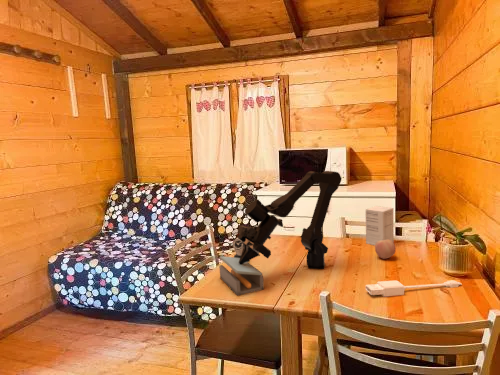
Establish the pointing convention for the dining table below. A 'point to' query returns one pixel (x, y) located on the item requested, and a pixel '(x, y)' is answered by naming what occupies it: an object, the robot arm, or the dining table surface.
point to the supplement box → (379, 224)
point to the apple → (385, 248)
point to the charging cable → (400, 287)
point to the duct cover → (240, 266)
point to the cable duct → (241, 281)
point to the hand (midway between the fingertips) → (239, 263)
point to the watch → (238, 248)
